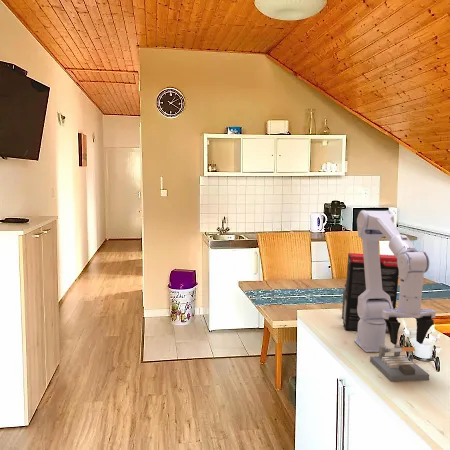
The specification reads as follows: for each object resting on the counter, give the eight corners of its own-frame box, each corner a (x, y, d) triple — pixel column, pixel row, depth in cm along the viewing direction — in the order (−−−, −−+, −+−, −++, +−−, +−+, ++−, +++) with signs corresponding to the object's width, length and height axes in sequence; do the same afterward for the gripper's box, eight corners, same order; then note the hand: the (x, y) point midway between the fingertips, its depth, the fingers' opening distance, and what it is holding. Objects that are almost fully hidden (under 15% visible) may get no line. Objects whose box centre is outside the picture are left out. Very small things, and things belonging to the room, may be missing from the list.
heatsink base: (369, 361, 137) (371, 345, 136) (404, 359, 139) (405, 344, 138) (391, 381, 124) (392, 363, 124) (429, 379, 126) (430, 362, 125)
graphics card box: (390, 327, 167) (395, 253, 163) (395, 334, 160) (401, 257, 156) (342, 324, 168) (346, 251, 165) (345, 331, 162) (349, 255, 158)
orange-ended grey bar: (384, 352, 137) (384, 349, 137) (394, 352, 137) (393, 348, 137) (404, 351, 125) (403, 347, 125) (414, 350, 126) (414, 347, 126)
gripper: (392, 300, 120) (388, 349, 122) (443, 299, 122) (439, 347, 124) (380, 292, 127) (376, 339, 129) (428, 291, 129) (424, 337, 131)
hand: (406, 342), depth 127 cm, fingers open, 7 cm apart
